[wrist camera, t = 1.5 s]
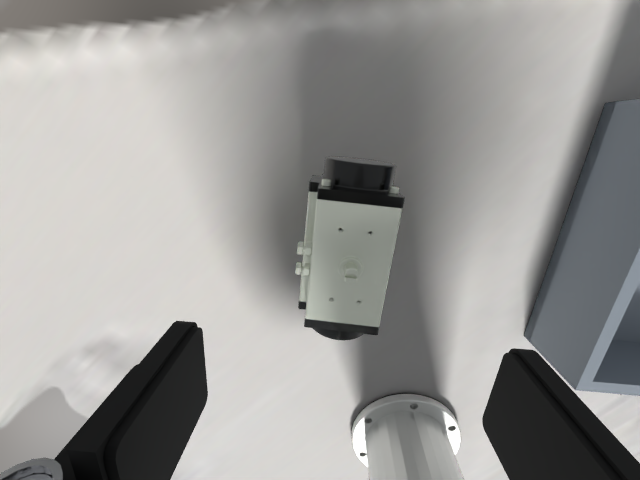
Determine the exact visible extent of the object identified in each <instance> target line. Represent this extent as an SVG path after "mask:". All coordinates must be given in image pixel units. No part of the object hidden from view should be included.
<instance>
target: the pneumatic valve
mask: <svg viewBox="0 0 640 480" xmlns="http://www.w3.org/2000/svg"><path fill="white" fill-rule="evenodd" d="M395 171H396V165H395V164H392V163H388V162H382V161H376V160H369V159H360V158H351V157H337V156H329V157H326V158H325V167H324V174H322V176H316V175H313V176H312V178H311V180H310V182H309V193H308V204H307V216H306V227H305V238H304V242H298V247H297V254H299V255H302V254H303V261H302V263H301V262H297V263H296V270H295V274H296V275H301V283H300V294H299V306H298V308H299V309H306V314H305V324H304V326H305V327H310V328H313V329H314V330H315V331H316V332H318V333H319V334H321V335H323V336H325V337H328V338H331V339H336V340H351V339H355V338H358V337H360V336H361V335H363V334H371V335H378V330H379V325H380V320H381V315H382V310H383V305H384V300H385V295H386V290H387V285H388V280H389V274H390V269H391V264H392V259H393V254H394V249H395V244H396V239H397V234H398V229H399V224H400V219H401V214H402V209H403V204H404V199H405V197H404V196H403V195H401V194H400V193H399V187H396V186H393V182H394V176H395Z"/></svg>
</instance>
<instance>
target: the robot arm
mask: <svg viewBox="0 0 640 480" xmlns="http://www.w3.org/2000/svg"><path fill="white" fill-rule="evenodd" d="M207 395H208V391H207V379H206V368H205V356H204V344H203V332H202V329H201V328H198V327H197V324H196V323H195V322H184V321H176V322H174V323H173V324H172V326H171V327H170V328H169V329H168V330H167V332H166V333H165V334H164V335H163V336H162V337H161V339H160V340H159V341H158V342H157V343H156V345H155V346H154V347H153V348H152V349H151V350H150V352H149V353H148V354H147V355H146V356H145V358H144V359H143V360H142V361H141V362H140V364H138V365H136V366H134V367H133V368H132V369H131V370H130V371H129V373H128V374H127V375H126V376H125V377H124V378H123V380H122V381H121V382H120V383H119V384H118V385H117V387H116V388H115V389H114V390H113V391H112V392H111V394H110V395H109V396H108V397H107V398H106V399H105V401H104V402H103V403H102V404H101V405H100V406H99V408H98V409H97V410H96V411H95V412H94V413H93V415H92V416H91V417H90V418H89V419H88V420H87V422H86V423H85V424H84V425H83V426H82V427H81V429H80V430H79V431H78V432H77V433H76V435H75V436H74V437H73V438H72V439H71V440H70V441H69V443H68V444H67V445H66V446H65V447H64V449H63V450H62V451H61V452H60V453H59V455H57V457H56V458H55V459H49V458H39V459H32V460H29V461H26V462H23V463H20V464H17V465H15V466H14V467H12V468H10V469H8V470H6V471H4V472H2V473H1V474H0V480H170V479H171V477H172V475H173V472H174V470H175V468H176V466H177V464H178V462H179V460H180V458H181V455H182V453H183V451H184V449H185V447H186V445H187V443H188V441H189V439H190V436H191V434H192V432H193V430H194V428H195V426H196V424H197V422H198V420H199V417H200V415H201V413H202V411H203V409H204V407H205V404H206V401H207ZM483 427H484V430H485V432H486V434H487V436H488V438H489V440H490V442H491V444H492V446H493V448H494V450H495V452H496V454H497V456H498V458H499V460H500V462H501V464H502V466H503V468H504V470H505V472H506V474H507V476H508V478H509V480H640V463H639V462H638V461H637V460H636V459H635V458H634V457H633V456H632V455H631V454H630V452H629V451H628V450H627V449H626V448H625V447H624V446H623V445H622V444H621V443H620V442H619V441H618V439H617V438H616V437H615V436H614V435H613V434H612V433H611V432H610V431H609V430H608V429H607V428H606V426H605V425H604V424H603V423H602V422H601V421H600V420H599V419H598V418H597V417H596V416H595V415H594V414H593V412H592V411H591V410H590V409H589V408H588V407H587V406H586V405H585V404H584V403H583V402H582V401H581V399H580V398H579V397H578V396H577V395H576V394H575V393H574V392H573V391H572V390H571V389H570V388H569V386H568V385H567V384H566V383H565V382H564V381H563V380H562V379H561V378H560V377H559V376H558V375H557V373H556V372H555V371H554V370H553V369H552V368H551V367H550V366H549V365H548V364H547V363H546V362H545V361H544V359H543V358H542V357H541V356H540V355H539V354H538V353H537V352H536V351H533V350H526V349H511V350H510V351H509V353H506V354H504V356H503V359H502V362H501V365H500V368H499V371H498V374H497V377H496V379H495V382H494V385H493V388H492V391H491V394H490V397H489V400H488V403H487V406H486V409H485V412H484V415H483ZM460 443H461V431H460V428H459V426H458V423H457V421H456V419H455V417H454V415H453V414H452V412H451V411H450V410H449V409H448V408H447V407H446V406H444V405H443V404H441V403H440V402H438V401H436V400H434V399H432V398H429V397H425V396H422V395H415V394H397V395H392V396H387V397H384V398H381V399H379V400H377V401H375V402H373V403H371V404H370V405H368V406H367V407H366V408H364V409H363V410H362V411H361V412H360V414H359V415H358V416H357V418H356V420H355V421H354V424H353V427H352V444H353V448H354V451H355V453H356V455H357V456H358V458H359V459H360V460H361V461H362V462H363V463H364V464H365V465H366V466H367V467H368V475H369V480H464V478H463V475H462V472H461V470H460V467H459V464H458V462H457V459H456V456H455V455H456V453H457V451H458V449H459V447H460Z"/></svg>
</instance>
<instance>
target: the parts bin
mask: <svg viewBox="0 0 640 480" xmlns="http://www.w3.org/2000/svg"><path fill="white" fill-rule="evenodd" d="M524 336H525V337H526V338H527V340H528V341H529V342H530V343H531V344H532V345H533V346H534V347H535V348H536V349H537V350H538V351H539V352H540V353H541V354H542V355H543V356H544V357H545V359H546V360H547V361H548V362H549V363H550V364H551V365H552V366H553V367H554V368H555V369H556V370H557V371H558V372H559V373H560V374H561V375H562V377H563V378H564V379H565V380H566V381H567V382H568V383H569V384H570V385H571V386H572V387H573V388H574V389H575V390H579V391H591V392H602V393H614V394H625V395H637V396H640V99H633V100H625V101H617V102H609V103H605V105H604V108H603V111H602V114H601V117H600V120H599V123H598V125H597V128H596V131H595V134H594V137H593V140H592V143H591V145H590V148H589V151H588V154H587V157H586V160H585V162H584V165H583V168H582V171H581V174H580V177H579V180H578V182H577V185H576V188H575V191H574V194H573V197H572V200H571V202H570V205H569V208H568V211H567V214H566V217H565V220H564V222H563V225H562V228H561V231H560V234H559V237H558V240H557V242H556V245H555V248H554V251H553V254H552V257H551V260H550V262H549V265H548V268H547V271H546V274H545V277H544V280H543V282H542V285H541V288H540V291H539V294H538V297H537V299H536V302H535V305H534V308H533V311H532V314H531V317H530V319H529V322H528V325H527V328H526V331H525V334H524Z"/></svg>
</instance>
